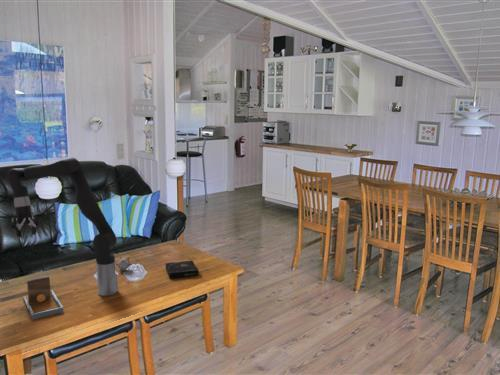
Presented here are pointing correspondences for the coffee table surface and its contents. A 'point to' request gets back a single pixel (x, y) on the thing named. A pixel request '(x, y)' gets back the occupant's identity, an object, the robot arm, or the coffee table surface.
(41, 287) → the board
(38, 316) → the blue-grey rectangular frame
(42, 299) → the ball
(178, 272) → the portable cd player
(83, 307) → the coffee table surface
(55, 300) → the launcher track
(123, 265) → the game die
